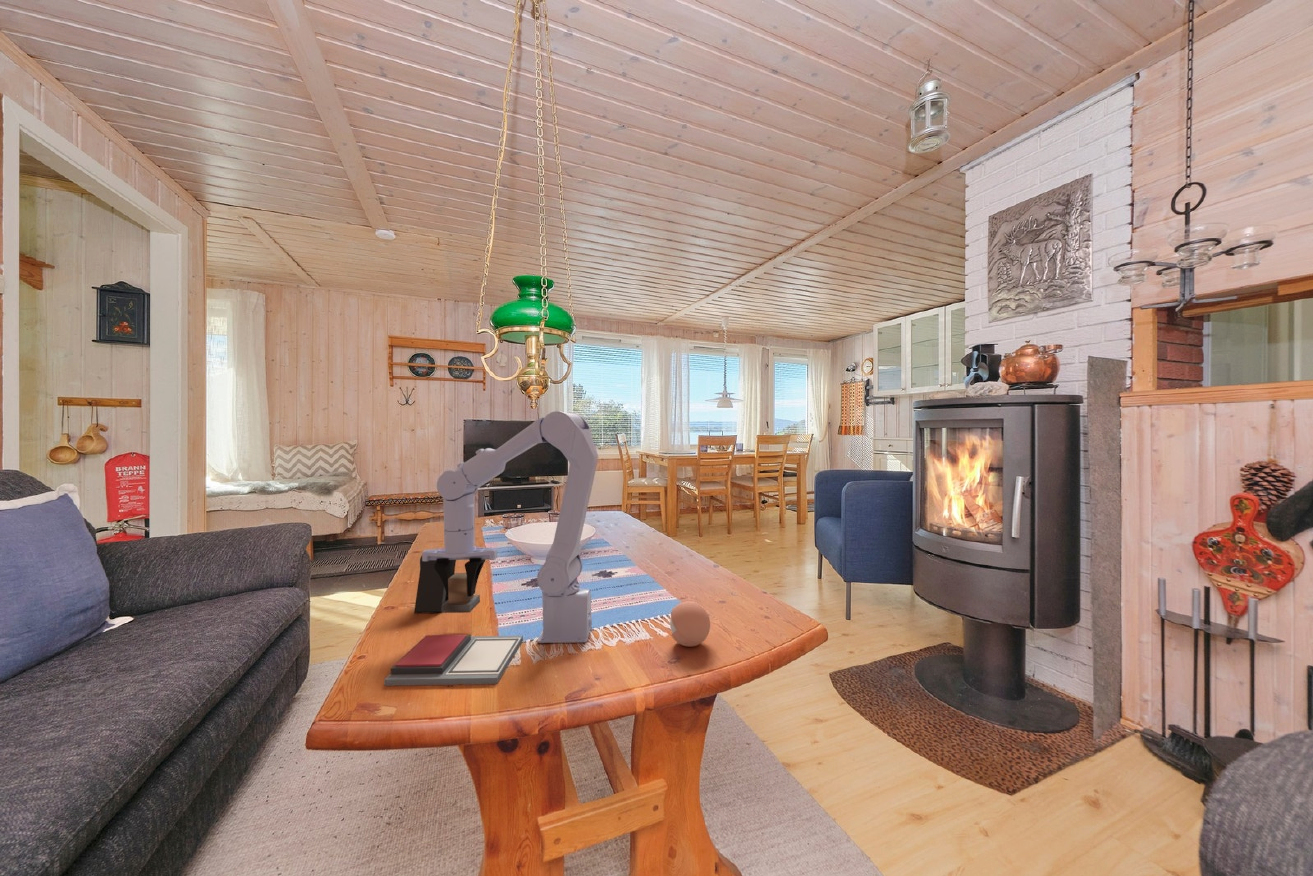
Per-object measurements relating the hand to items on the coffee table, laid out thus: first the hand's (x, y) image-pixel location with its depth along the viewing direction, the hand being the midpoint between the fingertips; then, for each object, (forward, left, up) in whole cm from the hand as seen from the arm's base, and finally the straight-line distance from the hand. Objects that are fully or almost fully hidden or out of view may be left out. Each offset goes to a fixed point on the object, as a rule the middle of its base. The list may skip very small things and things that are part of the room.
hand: (461, 594), depth 95 cm
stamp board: (-5, +13, -7) cm, 16 cm away
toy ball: (-46, +8, -7) cm, 47 cm away
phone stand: (+11, -13, -7) cm, 19 cm away
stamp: (0, 0, -3) cm, 3 cm away
